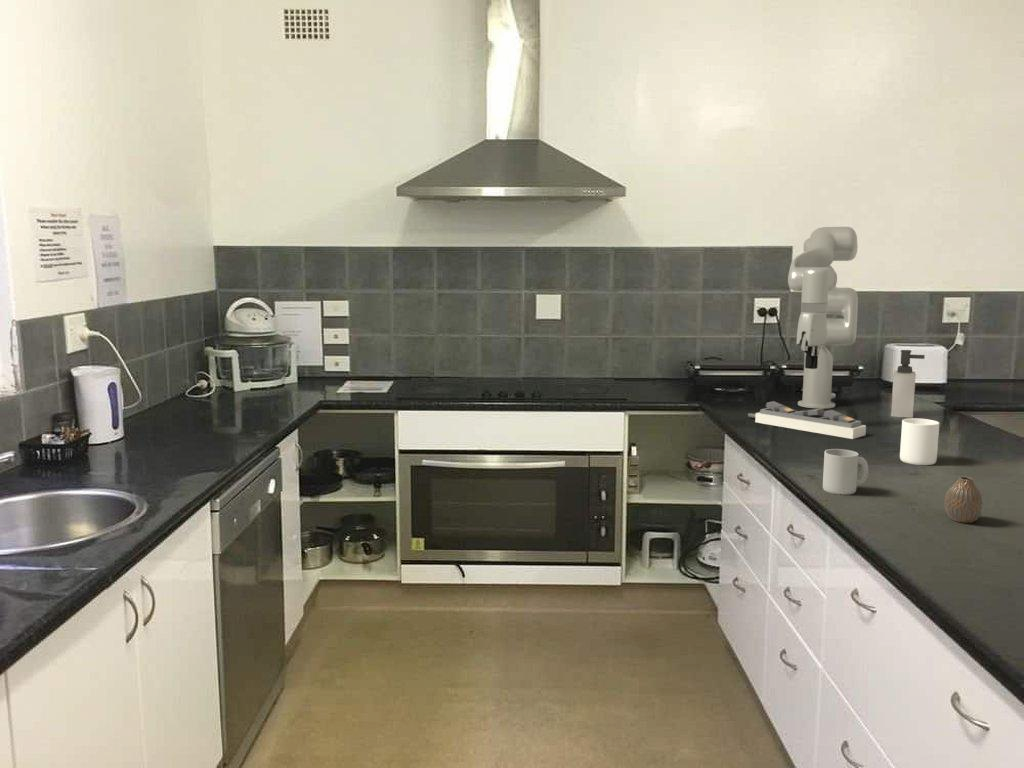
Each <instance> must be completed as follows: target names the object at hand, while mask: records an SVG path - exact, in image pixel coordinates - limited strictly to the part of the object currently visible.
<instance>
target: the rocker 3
mask: <svg viewBox="0 0 1024 768" xmlns="http://www.w3.org/2000/svg"><path fill="white" fill-rule="evenodd" d="M822 415H823V416H826V417H828V418H831V419H833V420H834V421H839V422H846V423H851V422H855V420H856V419H855V418H853V417H851V416H848V415H846V414H845V413H841V412H838V411H836V410H834V409H828V410H824V413H823V414H822Z"/></svg>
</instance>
